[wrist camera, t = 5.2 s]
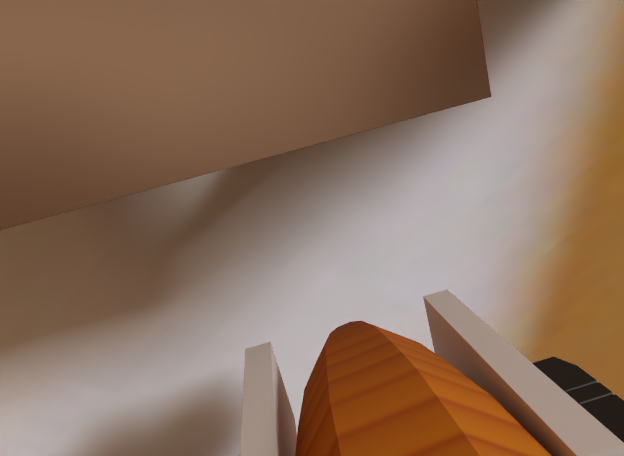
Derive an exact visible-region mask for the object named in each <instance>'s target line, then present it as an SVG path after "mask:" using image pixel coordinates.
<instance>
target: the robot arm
mask: <svg viewBox="0 0 624 456" xmlns="http://www.w3.org/2000/svg"><path fill="white" fill-rule="evenodd" d="M423 298H424V303H425V307H426V312H427V317H428V322H429V327H430V332H431V337H432V341H433V346H434V351H435V354H436V355H438V356H439V357H441V358H442V359H444V360H445V361H447V362H448V363H450V364H451V365H453V366H454V367H455V368H457V369H458V370H459V371H460V372H462V373H463V374H464V375H466V376H467V377H468V378H470V379H471V380H472V381H474V382H475V383H476V384H478V385H479V386H480V387H481V388H483V389H484V390H485V391H487V392H488V393H489V394H491V395H492V396H493V397H494V398H495V399H496V400H497V401H498V402H499V403H500V404H501V405H502V406H503V407H504V408H505V409H506V410H507V411H508V412H509V413H510V414H511V415H512V416H513V417H514V418H515V419H516V420H517V421H518V422H519V423H520V424H521V425H522V426H523V427H524V428H525V429H526V430H527V431H528V432H529V433H530V434H531V435H532V436H533V437H534V438H535V439H536V440H537V441H538V442H539V443H540V444H541V445H542V446H543V447H544V448H545V449H546V450H547V451H548V452H549V453H550V454H551V455H552V456H624V401H623V400H622V399H621V398H619V397H618V396H617V395H613V394H612V392H611V391H610V390H609V389H607V388H606V387H605V386H603V385H602V384H601V383H597V382H596V380H595V379H594V378H593V377H591V376H590V375H589V374H587V373H586V372H585V371H583V370H582V369H581V368H579V367H578V366H576V365H574V364H571V363H569V362H566V361H563V360H561V359H558V358H556V357H551V358H548V359H544V360H541V361H538V362H535V363H531V362H530V361H529V360H528V359H527V358H525V357H524V356H523V355H522V354H521V353H520V352H518V351H517V350H516V349H515V348H514V347H513V346H512V345H510V344H509V343H508V342H507V341H506V340H505V339H503V338H502V337H501V336H500V335H499V334H498V333H497V332H495V331H494V330H493V329H492V328H491V327H490V326H489V325H487V324H486V323H485V322H484V321H483V320H482V319H480V318H479V317H478V316H477V315H476V314H475V313H474V312H472V311H471V310H470V309H469V308H468V307H467V306H465V305H464V304H463V303H462V302H461V301H460V300H459V299H457V298H456V297H455V296H454V295H453V294H452V293H451V292H449V291H448V290H444V291H440V292H437V293H434V294H430V295H427V296H423ZM296 443H297V434H296V426H295V418H294V415H293V412H292V409H291V406H290V402H289V399H288V396H287V393H286V390H285V386H284V383H283V380H282V377H281V374H280V371H279V367H278V364H277V361H276V358H275V355H274V351H273V348H272V345H271V342H268V343H265V344H261V345H258V346H254V347H251V348H248V349H245V368H244V386H243V405H242V424H241V443H240V456H295V452H296Z"/></svg>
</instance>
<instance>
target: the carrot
mask: <svg viewBox="0 0 624 456" xmlns="http://www.w3.org/2000/svg"><path fill="white" fill-rule="evenodd" d="M295 456H552V455H551V454H550V453H549V452H548V451H547V450H546V449H545V448H544V447H543V446H542V445H541V444H540V443H539V442H538V441H537V440H536V439H535V438H534V437H533V436H532V435H531V434H530V433H529V432H528V431H527V430H526V429H525V428H524V427H523V426H522V425H521V424H520V423H519V422H518V421H517V420H516V419H515V418H514V417H513V416H512V415H511V414H510V413H509V412H508V411H507V410H506V409H505V408H504V407H503V406H502V405H501V404H500V403H499V402H498V401H497V400H496V399H495V398H494V397H493V396H492V395H491V394H489V393H488V392H487V391H485V390H484V389H483V388H481V387H480V386H479V385H478V384H476V383H475V382H474V381H472V380H471V379H470V378H468V377H467V376H466V375H464V374H463V373H462V372H460V371H459V370H458V369H457V368H455V367H454V366H453V365H451V364H450V363H448V362H447V361H445V360H444V359H442V358H441V357H439V356H438V355H436V354H435V353H433V352H432V351H430V350H429V349H427V348H426V347H424V346H423V345H422V344H420V343H418V342H416V341H413V340H411V339H408V338H405V337H403V336H400V335H397V334H395V333H392V332H390V331H387V330H384V329H382V328H379V327H376V326H374V325H371V324H368V323H366V322H363V321H355V322H349V323H347V324H344V325H342V326H339V327H337V328H336V329H335V330H334V331H332V332H331V333H330V335H329V337H328V339H327V341H326V343H325V345H324V347H323V349H322V351H321V353H320V355H319V357H318V360H317V362H316V364H315V366H314V369H313V371H312V373H311V376H310V378H309V380H308V383H307V385H306V387H305V390H304V396H303V402H302V408H301V414H300V420H299V425H298V433H297V443H296V452H295Z"/></svg>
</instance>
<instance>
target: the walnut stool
mask: <svg viewBox="0 0 624 456" xmlns="http://www.w3.org/2000/svg"><path fill="white" fill-rule="evenodd" d="M488 97H491V92H490V86H489V79H488V72H487V66H486V59H485V52H484V46H483V39H482V33H481V26H480V19H479V13H478V6H477V0H0V230H2V229H5V228H9V227H13V226H17V225H20V224H24V223H28V222H31V221H35V220H39V219H42V218H46V217H50V216H53V215H57V214H61V213H64V212H68V211H72V210H76V209H79V208H83V207H87V206H90V205H94V204H98V203H101V202H105V201H109V200H112V199H116V198H120V197H123V196H127V195H131V194H134V193H138V192H142V191H146V190H149V189H153V188H157V187H160V186H164V185H168V184H171V183H175V182H179V181H182V180H186V179H190V178H193V177H197V176H201V175H205V174H208V173H212V172H216V171H219V170H223V169H227V168H230V167H234V166H238V165H241V164H245V163H249V162H252V161H256V160H260V159H263V158H267V157H271V156H275V155H278V154H282V153H286V152H289V151H293V150H297V149H300V148H304V147H308V146H311V145H315V144H319V143H322V142H326V141H330V140H334V139H337V138H341V137H345V136H348V135H352V134H356V133H359V132H363V131H367V130H370V129H374V128H378V127H381V126H385V125H389V124H393V123H396V122H400V121H404V120H407V119H411V118H415V117H418V116H422V115H426V114H429V113H433V112H437V111H440V110H444V109H448V108H451V107H455V106H459V105H463V104H466V103H470V102H474V101H477V100H481V99H485V98H488Z"/></svg>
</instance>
